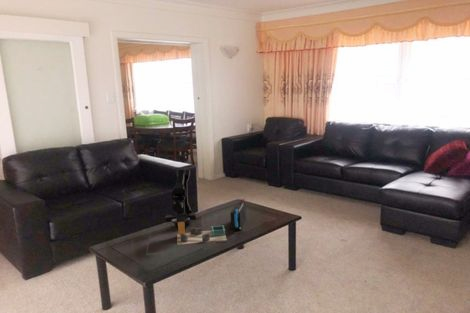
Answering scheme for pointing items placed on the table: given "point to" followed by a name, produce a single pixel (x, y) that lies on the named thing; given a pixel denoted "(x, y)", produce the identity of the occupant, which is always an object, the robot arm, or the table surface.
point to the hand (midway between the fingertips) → (181, 230)
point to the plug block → (181, 228)
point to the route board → (199, 238)
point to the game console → (238, 215)
